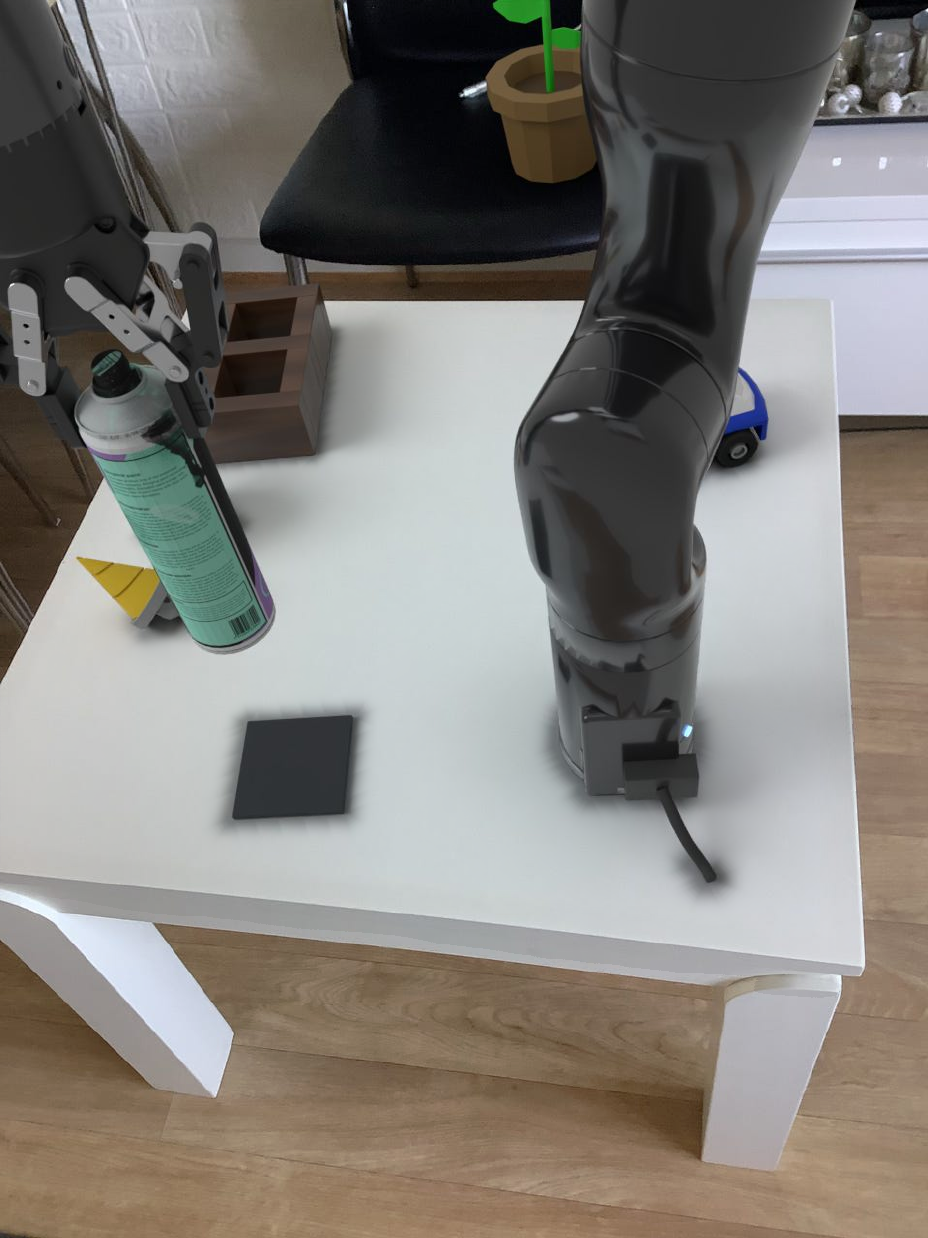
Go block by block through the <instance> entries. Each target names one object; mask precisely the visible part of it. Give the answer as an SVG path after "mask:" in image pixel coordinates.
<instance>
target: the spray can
mask: <svg viewBox="0 0 928 1238" xmlns="http://www.w3.org/2000/svg"><path fill="white" fill-rule="evenodd" d="M90 370H91V373H92V374H93V376H92V378H91V381H90V382H89V386H88V387H86V388H85V390H83V392H81V395H80V397H79V399H78V401H77V402H76V405H75V409H74V417H75V420H76V423H77V424H78V426H79V431H80V434H81V436H82V438H83V440H84V442H85V444H86V446H87V447H88V448H87V450H88V451H89V453H90V455H91V457H92V458H93V460H94V462H95V464H96V465H97V468H98V470H99V471H100V473H101V476H102V477H103V478H104V481H105V482H106V484H107V486H108V488H109V490H110V492H111V493H112V495H113V497H114V498H115V500H116V503H117V504H118V506H119V508H120V509H121V511H122V514H123V515H124V518H125V519H126V521H127V522H128V525H129V526H130V528H131V530H132V532H133V533H134V536H135V537H136V539H137V541H138V543H139V544H140V546H141V548H142V550H143V552H144V553H145V555H146V557H147V559H148V561H149V563H150V564H151V567H152V569H154V570H155V572H156V574H157V575H158V577H159V579H160V581H161V583H162V585H163V586H164V588H165V590H166V592H167V594H168V596H169V597H170V599H171V601H172V603H173V605H174V607H175V608H176V610H177V612H178V614H179V616H180V617H179V616H178V617H179V618H180V620H181V621H182V623H183V625H184V627H185V629H186V631H187V633H188V634H189V636H190V638H191V639H192V640H193V642H194V644H196V646H197V647H199V648H200V649H201V650H202V651H205V652H207V653H210V654H214V655H224V656H226V655H233V654H238V653H241V652H243V651H246V650H248V649H250V648H252V647H254V646H255V645H256V644H259V642H260V641H262V640H263V639H264V638H265V637H266V636H267V635H268V634H269V632H270V631H271V629H272V628H273V625H274V623H275V621H276V614H277V611H276V610H277V609H276V604H275V601H274V599H273V596H272V594H271V591H270V589H269V587H268V585H267V582H266V580H265V578H264V575H263V573H262V570H261V569H260V566H259V564H258V561H257V559H256V557H255V554H254V551H253V550H252V547H251V545H250V543H249V540H248V538H247V535H246V533H245V530H244V528H243V526H242V524H241V521H240V519H239V516H238V514H237V512H236V509H235V507H234V505H233V503H232V500H231V498H230V496H229V493H228V491H227V489H226V486H225V484H224V481H223V479H222V477H221V474H220V471H219V470H218V467H217V465H216V463H214V460H213V458H212V456H211V453H210V451H209V449H208V446H207V444H206V442H205V439H204V438H197V439H189V438H188V437H187V435H186V432H185V430H184V428H183V426H182V423H181V421H180V419H179V417H178V414H177V412H176V410H175V408H174V405H173V403H172V401H171V399H170V397H169V394H168V392H167V390H166V388H165V385H164V384H165V380H166V377H165V376H164V375H163V374H162V373H161V372H160V371H159V370H158V369H157V368H156V367H155V366H154V365H149V364H142V365H141V364H138V363H134V362H130V361H129V359H128V358H127V356H126V355H125V354H124V352H123V351H122V350H120V349H118V348H117V349H115V348H110V349H106V350H103V351H101V352H99V353H97V354H95V356H94V358H92V360H91V363H90Z"/></svg>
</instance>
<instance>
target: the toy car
mask: <svg viewBox="0 0 928 1238" xmlns="http://www.w3.org/2000/svg"><path fill="white" fill-rule="evenodd" d="M769 420H770V419H769V412H768V407H767V403H766V400H765V397H764V395H763V393H762V391H761V389H760V387H759V386H758V384H757V383H756V382H755V380H754V379H753V378H752V377H751V376H750V375H749V373H748V372H747V371H746V370H744V368H742V367H740V366H739V371H738V377H737V384H736V391H735V397H734V402H733V407H732V411H731V415H730V419H729V422H728V424H727V427H726V429H725V432H724V434H723V437H722V439H721V442H720V444H719V446H718V448H717V451H716V453H715V455H714V456H716V458H717V460H718V461H719V463H720V464H721V465H723V466H724V467H727V468H734V467H738V466H741V465H743V464H745V463H747V462H748V461H750V459H752V458H753V457H754V456H755V454H756V452H757V451H758V448H759V441H760V442H763V441H766V439H767V437H768V436H767V434H768V428H769V427H768V426H769ZM751 428H752V429H753V430H752V429H751ZM753 431H754V432H755V434H756V435H755V434H754V432H753ZM756 436H757V437H758V439H759V441H758V439H757V437H756Z"/></svg>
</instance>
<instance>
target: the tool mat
mask: <svg viewBox="0 0 928 1238" xmlns="http://www.w3.org/2000/svg"><path fill="white" fill-rule="evenodd" d="M353 719H354V718H353V716H352V714H346V715H331V716H330V715H329V716H309V717H296V718H295V717H294V718H280V719H279V718H277V719H263V720H247V724H246V729H245V736H244V741H243V748H242V753H241V759H240V765H239V772H238V778H237V784H236V790H235V794H234V800H233V808H232V812H231V813H232V814H231V818H232V819H233V820H241V819H243V820H244V819H260V818H261V819H262V818H283V817H304V816H322V815H341V814H342V815H343V814H345V805H346V793H347V782H348V774H349V772H348V771H349V761H350V751H351V739H352V728H353Z"/></svg>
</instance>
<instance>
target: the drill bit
mask: <svg viewBox="0 0 928 1238" xmlns="http://www.w3.org/2000/svg"><path fill="white" fill-rule="evenodd" d="M75 559H76V560H77V561H78V562H79V563H80V565H81V566H82V567H83V568H84V569H85V570H86V571H87V573H89V574H90V575H91V576H92V577H93V579H94V580H95V581H96V582H97V583H98V584H99V585H100V586H101V587H102V588H103V590H105V591H106V592H107V593H108V594H109V595H110V597H111V598H112V599H113V600H114V601H115V602H116V603H117V604H118V605H119V607H121V608H122V609H123V611H125V613H126V614H127V615H128V616H129V617H130V618H131V621H130V623H131V624H130V625H132V626H133V627H136V628H138V629H140V630H145V629H146V627H148V626H149V624H150V623H151V621H152V620H153V619H154V617H155V616H156V615H157V616H159V617H161V618H163V619H165V620H173V619H176V618H177V617H178V618H180V616H179V614H178V612H177V610H176V608H175V607H174V605H173V603H172V601H171V599H170V597H169V596H168V594H167V592H166V590H165V588H164V586H163V585H162V583H161V581H160V579H159V577H158V575H157V574H156V572H155V570H154V568H151V567H150V568H149V567H143V566H137V565H131V564H125V563H118V562H114V561H107V560H100V559H94V558H89V557H88V558H87V557H81V556H76V557H75Z"/></svg>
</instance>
